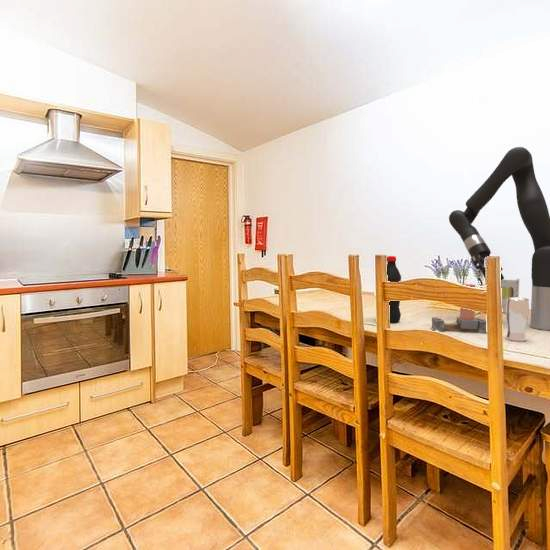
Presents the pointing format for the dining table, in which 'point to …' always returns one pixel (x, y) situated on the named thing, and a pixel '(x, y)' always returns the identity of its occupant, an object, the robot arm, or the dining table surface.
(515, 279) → the supplement box
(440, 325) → the rail
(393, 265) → the cola bottle
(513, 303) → the beer glass
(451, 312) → the dining table surface
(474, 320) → the tall salmon pink pillar
